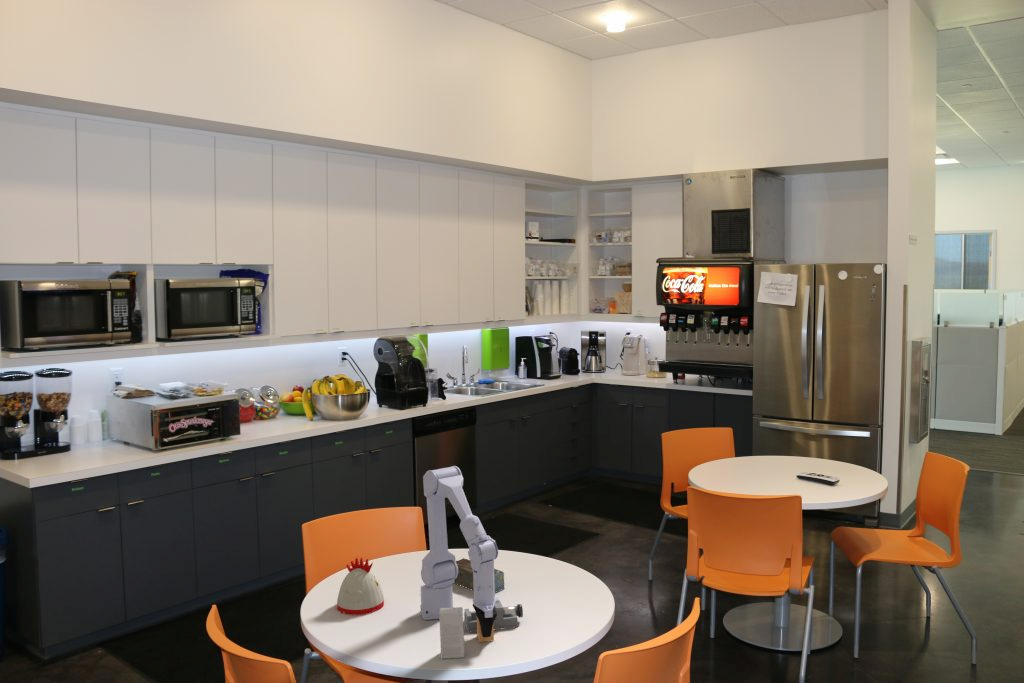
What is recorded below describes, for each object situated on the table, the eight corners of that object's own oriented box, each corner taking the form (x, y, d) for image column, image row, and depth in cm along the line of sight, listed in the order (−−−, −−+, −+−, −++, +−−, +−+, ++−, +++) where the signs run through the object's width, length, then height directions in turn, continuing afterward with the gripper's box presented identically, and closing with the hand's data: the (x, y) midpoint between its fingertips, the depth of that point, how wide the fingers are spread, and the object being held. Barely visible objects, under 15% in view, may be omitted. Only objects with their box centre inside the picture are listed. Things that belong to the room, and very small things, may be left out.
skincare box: (464, 650, 222) (463, 606, 222) (464, 658, 218) (462, 613, 217) (441, 651, 222) (439, 607, 221) (440, 659, 218) (439, 614, 217)
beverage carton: (487, 597, 260) (486, 576, 260) (446, 582, 274) (445, 562, 273) (505, 589, 266) (504, 569, 266) (464, 576, 279) (463, 556, 279)
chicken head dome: (374, 616, 247) (372, 566, 246) (330, 613, 250) (328, 564, 248) (390, 598, 260) (388, 551, 259) (348, 596, 263) (346, 549, 262)
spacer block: (479, 642, 228) (478, 620, 227) (477, 636, 232) (476, 614, 231) (493, 640, 228) (493, 619, 228) (491, 634, 232) (490, 613, 232)
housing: (468, 632, 234) (467, 611, 234) (464, 620, 242) (463, 600, 241) (517, 627, 237) (517, 606, 236) (512, 616, 245) (511, 595, 244)
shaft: (498, 621, 238) (498, 609, 238) (496, 616, 241) (496, 604, 241) (522, 619, 239) (522, 606, 239) (520, 614, 243) (520, 602, 242)
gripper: (503, 592, 222) (504, 642, 223) (493, 574, 237) (495, 621, 238) (476, 595, 221) (478, 645, 222) (469, 576, 235) (470, 623, 236)
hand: (485, 633), depth 230 cm, fingers closed on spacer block, 4 cm apart
